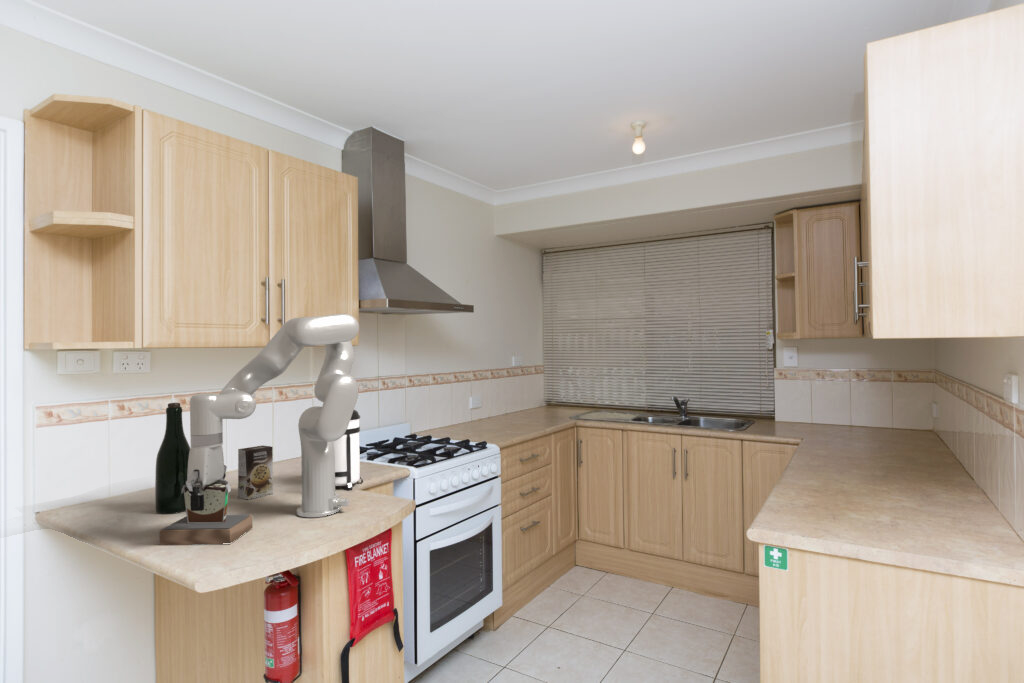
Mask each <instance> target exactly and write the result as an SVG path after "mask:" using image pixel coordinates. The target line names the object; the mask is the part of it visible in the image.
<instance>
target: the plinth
mask: <svg viewBox="0 0 1024 683" xmlns="http://www.w3.org/2000/svg"><path fill="white" fill-rule="evenodd" d="M251 528H253V515H252V514H226V521H225V522H224V523H191V524H188V522H187V515H186V516H184V517H182V518H180V519H178V520H177V521H175V522H173V523H171V524H169V525H167V526H165V527H163V528H161V529H160V530H159V532H158V533H159V546H193V545H192V544H223V543H231V542H233V541H234V540H236V539H237V538H239V537H240V536H241V535H243V534H244V533H245V532H247V531H249V530H250V529H251ZM251 530H252V529H251ZM251 530H250V531H251ZM250 531H249V532H250ZM247 533H248V532H247ZM244 535H245V534H244ZM244 535H243V536H244ZM241 537H242V536H241ZM241 537H240V538H241ZM240 538H239V539H240ZM237 540H238V539H237ZM237 540H236V541H237ZM234 542H235V541H234ZM234 542H233V543H234ZM190 544H191V545H190Z"/></svg>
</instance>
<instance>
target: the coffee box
mask: <svg viewBox="0 0 1024 683" xmlns="http://www.w3.org/2000/svg"><path fill="white" fill-rule="evenodd" d="M237 449H238V451H237V452H238V453H237V454H238V455H237V456H238V457H237V459H238V460H237V461H238V462H237V466H238V468H237V470H238V472H237V487H238V488H237V497H238V496H239V497H238V498H241V499H243V500H246V499H248V500H252V499H255V498H256V497H257V498H260V496H261V497H265V496H264V495H266V496H269V494H270V495H273V494H274V487H273V486H274V484H273V482H274V480H273V477H274V475H273V474H274V470H273V468H274V467H273V465H274V464H273V459H274V458H273V456H274V454H273V446H271V445H270V446H269V445H256V446H250V447H244V448H243V447H242V448H237ZM251 498H252V499H251Z"/></svg>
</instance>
